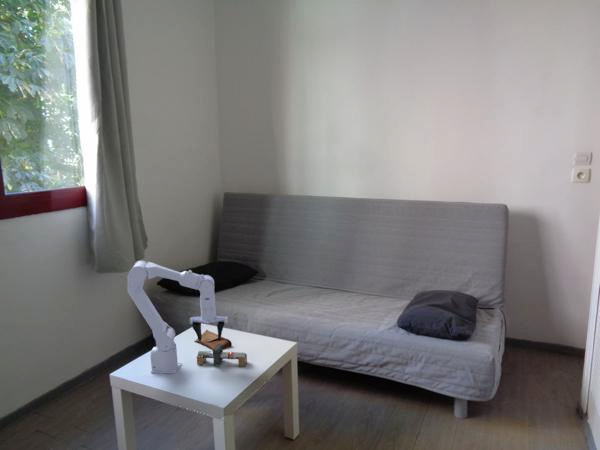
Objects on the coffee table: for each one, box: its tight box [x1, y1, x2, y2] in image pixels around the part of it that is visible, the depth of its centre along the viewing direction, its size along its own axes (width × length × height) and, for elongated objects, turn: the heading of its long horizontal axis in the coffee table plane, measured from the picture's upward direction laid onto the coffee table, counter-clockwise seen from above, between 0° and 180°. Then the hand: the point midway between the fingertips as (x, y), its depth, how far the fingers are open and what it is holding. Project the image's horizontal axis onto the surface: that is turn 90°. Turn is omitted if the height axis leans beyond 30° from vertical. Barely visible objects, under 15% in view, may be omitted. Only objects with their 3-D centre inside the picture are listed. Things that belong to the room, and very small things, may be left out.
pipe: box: [196, 350, 248, 368], centre depth 180 cm, size 19×4×5 cm, turn 82°
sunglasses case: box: [193, 329, 233, 351], centre depth 199 cm, size 18×7×7 cm, turn 47°
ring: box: [212, 344, 224, 366], centre depth 180 cm, size 2×6×6 cm, turn 172°
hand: (209, 339), depth 178 cm, fingers open, 7 cm apart
